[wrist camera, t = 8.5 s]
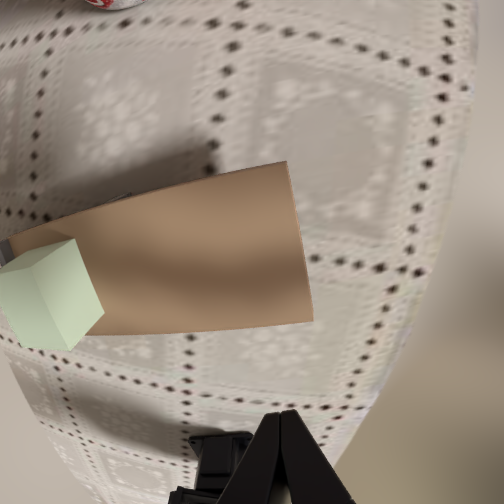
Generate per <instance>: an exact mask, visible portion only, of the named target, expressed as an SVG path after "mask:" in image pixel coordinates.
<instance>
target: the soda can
mask: <svg viewBox="0 0 504 504" xmlns="http://www.w3.org/2000/svg"><path fill="white" fill-rule="evenodd" d="M86 1H87V2H89V3H91V4H92V5H94V6H96V7H99V8H102V9H106V10H119V9H125V8H129V7H133V6H136V5H139V4H141V3H143V2H145V1H147V0H86Z"/></svg>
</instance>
